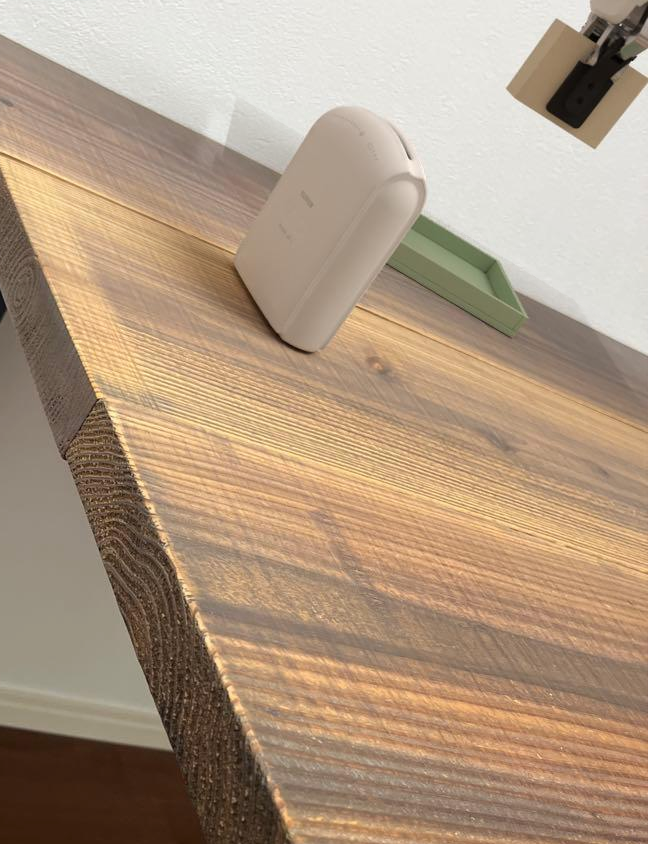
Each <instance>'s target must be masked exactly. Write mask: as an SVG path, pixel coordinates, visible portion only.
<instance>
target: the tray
mask: <svg viewBox="0 0 648 844" xmlns="http://www.w3.org/2000/svg"><path fill="white" fill-rule="evenodd" d="M385 265H388V266H390V267H391V268H393V269H395V270H396V271H398V272H399V273H402V274H403V275H405V277H408V278H410V279H411V280H413V281H415V282H416V283H418V284H419V285H421V286H423V287H424V288H426V289H428V290H430V291H431V292H433V293H435V294H436V295H439V296H440V297H441V298H444V299H445V300H446V301H448V302H450V303H452V304H454V305H455V306H457V307H459V308H460V309H462V310H463V311H465V312H467V313H469V314H470V315H472V316H473V317H476V318H477V319H479V320H480V321H482V322H484V323H486V324H487V325H489V326H491V327H493V328H494V329H496V330H498V331H499V332H500V333H503V334H504V335H506V336H507V337H509V338H511V339H513V338H514V337H515V336H516V335H517V333H518V332H519V331H520V330H521V329H522V327H524V325H525V324H526V323H527V322H528V320H529V319H530V318H529V316H528V314H527V312H526V310H525V309H524V307H523V304H522V302H521V300H520V298H519V297H518V295H517V292H516V291H515V289H514V287H513V285H512V282H511V280H510V279H509V277H508V275H507V273H506V271H505V270H504V267H503V265H502V263H501V261H500V260H498V259H497V258H495V257H493V256H492V255H490V254H489V253H487V252H485V251H484V250H482V249H481V248H478V247H477V246H476V245H474V244H472V243H470V241H469V242H468V241H467V240H466V239H464V238H462V237H461V236H459V235H458V234H456V233H454V232H452V231H451V230H449V229H448V228H446V227H444V226H442V225H441V224H439V223H438V222H436V221H434V220H433V219H431V218H429V216H426V215H425V214H422V212H421V213H420V215H419V217H418V218H417V220H416V221H415V223H414V224H413V225H412V227H411V228H410V230H409V231H408V232H407V234H406V235H405V237H404V238H403V239H402V241H401V242H400V244H399V245H398V247H397V248H396V249H395V251H394V252H393V254H392V255H391V257H390V258H389V259H388V261H387V262H386V264H385Z"/></svg>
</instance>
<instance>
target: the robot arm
mask: <svg viewBox="0 0 648 844" xmlns="http://www.w3.org/2000/svg"><path fill="white" fill-rule="evenodd" d="M589 7H590V12H589V14H588V17H587V19H586V22H585V23H584V25H582V26H581V29H580V30H579V31H578V32H579V33H581V34H582V35H584V36H585V37H587V38H588V39H590V40H591V41H593V42H594V43H596V45H595V46H594V48H593V49H592V51H591V52H590V54H589V55H588V57H587V58H586V60H585V62H584V63H582V62H581V61H578V63H577V64H576V66H575V67H574V68H573V70H572V71H571V72H570V74H569V75H568V76H567V78H566V79H565V80H564V82H563V83H562V84H561V86H560V87H559V88H558V90H557V91H556V92H555V94H554V95H553V97H552V98H551V99H550V101H549V102H548V103H547V105H546V110H547V111H548V112H549V113H551V114H552V115H554V116H555V117H557V118H558V119H560V120H562V121H563V122H565V123H566V124H568V125H569V126H571V127H572V128H574V129H578V128H580V127H581V126H582V124H583V123H584V122H585V121H586V119H587V118H588V117H589V115H590V114H591V113H592V111H593V110H594V109H595V108H596V106H597V105H598V104H599V102H600V101H601V100H602V99H603V97H604V96H605V95H606V93H607V92H608V91H609V89H610V88H611V87H612V86H613V84H614V82H616V81H617V80H618V79H619V78H620V77H621V75H622V74H623V73H624V71H625V70H626V68H627V67H628V65H629V66H630V64H631V62H634V61H635V60H636V59H637V57H638V55H639V54H641V53H643V52H644V51H646V50H647V49H648V0H589Z"/></svg>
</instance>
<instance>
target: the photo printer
mask: <svg viewBox="0 0 648 844" xmlns="http://www.w3.org/2000/svg"><path fill="white" fill-rule="evenodd" d="M427 198H428V182H427V177H426V173H425V169H424V167H423V163H422V160H421V159H420V157H419V154H418V152H417V150H416V148H415V146H414V145H413V144H412V142H411V141H410V139H409V137H408V136H407V135H406V134H405V133H404V131H403V130H401V128H400V127H398V126H397V125H396V124H395V123H394V122H392V121H391V120H389V119H387V118H386V117H383V116H381V115H379V114H377V113H376V112H374V111H372V110H369V109H367V108H365V107H361V106H355V105H340V106H336V107H334V108H331V109H329V110H327V111H326V112H325V113H323V114H322V115H320V116H319V118H318V119H316V121H314V123H313V125H312V126H311V127H310V129H309V130H308V132H307V134H306V135H305V137H304V139H303V140H302V142H301V143H300V145H299V147H298V148H297V150H296V151H295V153H294V155H293V156H292V158H291V160H290V161H289V163H288V164H287V166H286V168H285V170H284V172H282V175H281V176H280V178H279V179H278V181H277V183H276V184H275V186H274V188H273V189H272V191H271V193H270V194H269V196H268V198H267V199H266V201H265V202H264V204H263V206H262V207H261V209H260V211H259V213H258V214H257V216H256V218H255V219H254V221H253V222H252V224H251V226H250V227H249V229H248V231H247V232H246V234H245V236H244V237H243V238H242V241H241V243H240V244H239V246H238V248H237V250H236V252H235V254H234V256H233V264H234V267H235V269H236V271H237V273H238V274H239V277H240V278H241V280H242V282H243V283H244V285H245V287H246V288H247V290H248V292H249V293H250V295H251V297H252V298H253V300H254V301H255V303H256V305H257V307H258V308H259V310H260V311H261V312H262V314H263V316H264V317H265V319H266V320H267V321H268V323H269V325H270V326H271V327H272V329H273V330H274V331H275V333H276V334H278V335H279V337H280V338H281V340H282V341H284V342H286V343H287V344H289V345H291V346H293V347H295V348H297V349H299V350H302V351H305V352H308V353H309V352H311V353H315V352H317V351H318V350H321V351H322V350H325V349H326V348H327V347H328V345H329V344H330V343H331V342H332V341H333V339H334V338H335V337H336V335H337V334H338V333H339V331H340V330H341V328H342V327H343V326H344V324H345V322H346V321H347V319H348V318H349V317H350V315H351V313H352V312H353V311H354V309H355V308H356V306H357V305H358V304H359V302H360V300H361V299H362V298H363V296H364V295H365V294H366V292H367V291H368V290H369V288H370V287H371V285H372V284H373V282H374V281H375V280H376V278H377V277H378V275H379V274H380V273H381V270H382V269H383V268H384V267H385V265H387V264H386V262H387V261H388V259H389V258H390V257H391V255H392V254H393V252H394V251H395V249H396V248H397V247H398V245H399V244H400V242H401V241H402V239H403V238H404V237H405V235H406V234H407V232H408V231H409V230H410V228H411V227H412V225H413V224H414V223H415V221H416V220H417V218H418V217H419V215H420V213H421V214H422V212H423V210H424V208H425V205H426V202H427Z"/></svg>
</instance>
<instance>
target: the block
mask: <svg viewBox="0 0 648 844" xmlns="http://www.w3.org/2000/svg"><path fill="white" fill-rule="evenodd" d="M579 32H580V31H578V30H576V29H574V28H573V27H572V26H570V25H569V24H568V23H565V22H564V21H562V20H560V19H559V18H558V17H556V18H554V20H553V21H552V23H551V24H550V26H549V27H548V29H547V30H546V31H545V33H544V34H543V36H542V37H541V38H540V40H539V41H538V43H537V44H536V45H535V47H534V48H533V49H532V50H531V52H530V54H529V55H528V56H527V58H526V59H525V61H524V62H523V63H522V65H521V66H520V68H519V69H518V71H516V74H515V75H514V76H513V77H512V79H511V80H510V82H509V83H508V85H507V86H506V87H505V89H506V92H508V93H509V94H510V95H511V96H512V97H513V98H514V99H515V100H517V101H518V102H520V103H521V104H523V105H524V106H526V107H527V108H529V109H530V110H531V111H534V113H537V114H539V115H540V116H541V117H543V118H544V119H546V120H548V121H549V122H551V123H553V124H554V125H556V127H559V128H560V129H562V130H563V131H565V132H567V133H568V134H570V135H571V136H573V138H576V139H578V140H579V141H580V142H582V143H584V144H586V145H587V146H589V148H592V149H593V150H596V149H597V148H598V147H599V146H600V144H601V143H602V141H603V140H604V139H605V138H606V136H607V135H608V134H609V133H610V132H611V130H612V129H613V127H615V125H616V124H617V122H618V121H619V120H620V118H622V116H623V115H624V114H625V112H626V111H627V110H628V109H629V108H630V107H631V105H632V103H634V101H635V100H636V99H637V98H638V96H639V95H640V94H641V92H642V91H643V90H644V88H645V87H646V86H647V85H648V76H646V75H645V74H643V73H641V72H640V71H639V70H637V69H635V68H634V67H632V66H631V65H630V64H629V65H628V67H627V68H626V70H625V71H624V73H623V74H622V75H621V77H620V78H619V79H618V80H617V81H616V82H614V84H613V86H612V87H611V88H610V89H609V91H608V92H607V93H606V95H605V96H604V97H603V99H602V100H601V101H600V102H599V104H598V105H597V106H596V108H595V109H594V110H593V111H592V113H591V114H590V115H589V117H588V118H587V119H586V121H585V122H584V123H583V124H582V126H581V127H580V128H578V129H574V128H572V127H571V126H569V125H568V124H566V123H565V122H563V121H562V120H560V119H558V118H557V117H555V116H554V115H552V114H551V113H549V112H548V111H547V110H546V105H547V103H548V102H549V101H550V99H551V98H552V97H553V95H554V94H555V92H556V91H557V90H558V88H559V87H560V86H561V84H562V83H563V82H564V80H565V79H566V78H567V76H568V75H569V74H570V72H571V71H572V70H573V68H574V67H575V66H576V64H577V63H578V61H581V62H582V63H584V62H585V60H586V58H587V57H588V55H589V54H590V52H591V51H592V49H593V48H594V46H595V45H596V43H594V42H593V41H591V40H590V39H588V38H587V37H585V36H584V35H582V34H581V33H579Z"/></svg>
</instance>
